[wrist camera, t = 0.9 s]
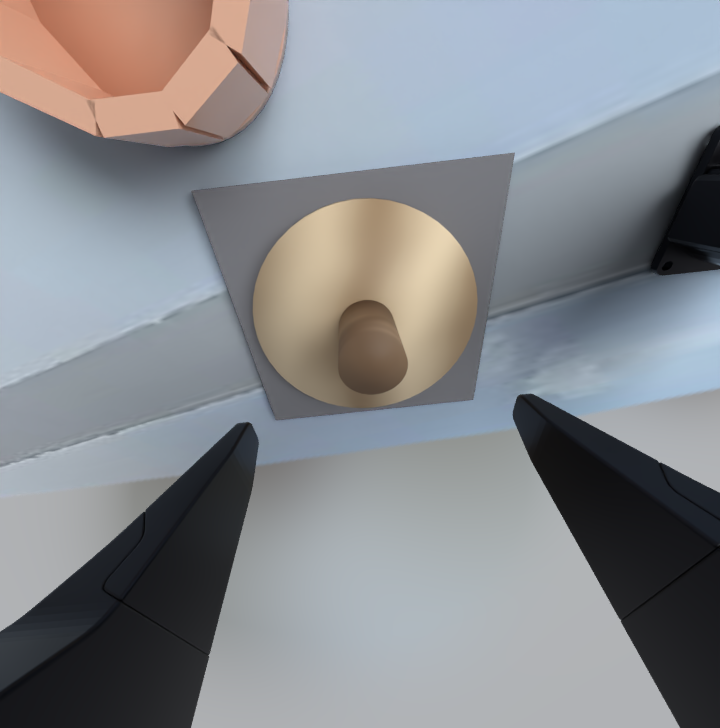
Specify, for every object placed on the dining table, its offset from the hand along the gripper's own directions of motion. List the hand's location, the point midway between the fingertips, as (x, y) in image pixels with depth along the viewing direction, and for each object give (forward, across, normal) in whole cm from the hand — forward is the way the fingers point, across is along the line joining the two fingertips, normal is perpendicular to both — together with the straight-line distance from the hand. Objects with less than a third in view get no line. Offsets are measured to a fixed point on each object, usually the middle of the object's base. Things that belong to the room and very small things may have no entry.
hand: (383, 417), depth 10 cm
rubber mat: (+8, 0, 0) cm, 8 cm away
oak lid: (+8, 0, 0) cm, 8 cm away
